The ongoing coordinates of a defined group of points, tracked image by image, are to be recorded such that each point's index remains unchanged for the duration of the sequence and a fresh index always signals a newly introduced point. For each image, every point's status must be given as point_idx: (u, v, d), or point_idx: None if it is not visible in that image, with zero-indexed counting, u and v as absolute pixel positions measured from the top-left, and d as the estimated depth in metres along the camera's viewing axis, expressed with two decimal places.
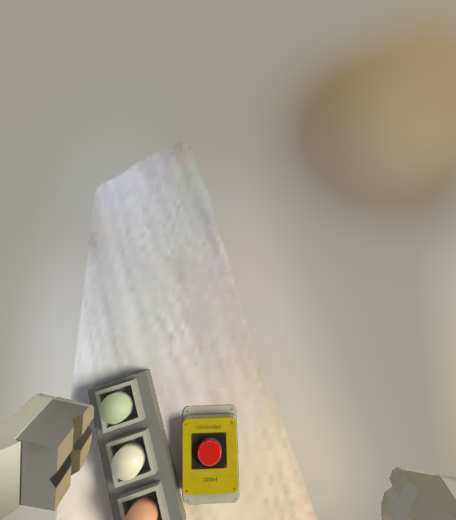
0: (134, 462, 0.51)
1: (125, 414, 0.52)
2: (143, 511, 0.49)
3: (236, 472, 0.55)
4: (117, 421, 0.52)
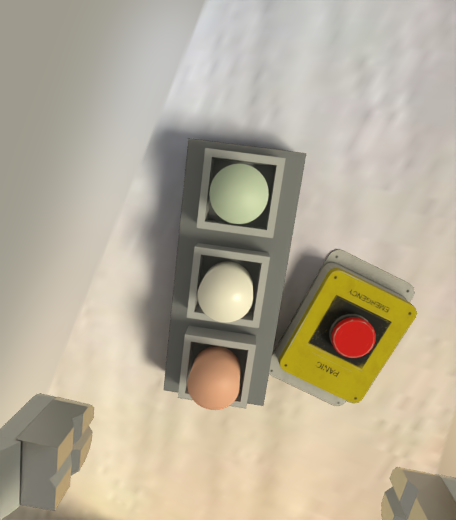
0: (239, 300, 0.27)
1: (255, 214, 0.25)
2: (225, 375, 0.28)
3: (371, 381, 0.32)
4: (236, 220, 0.26)
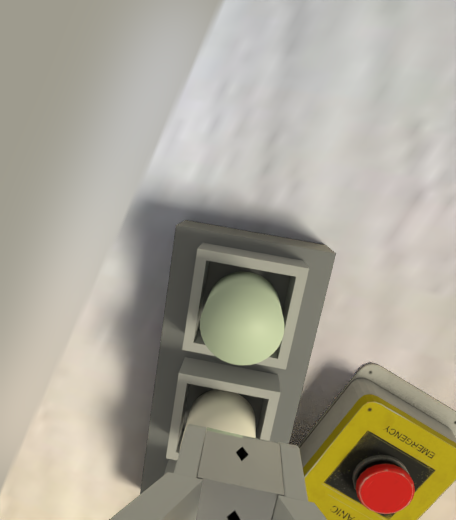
0: None
1: (264, 355, 0.18)
2: None
3: None
4: (236, 360, 0.18)
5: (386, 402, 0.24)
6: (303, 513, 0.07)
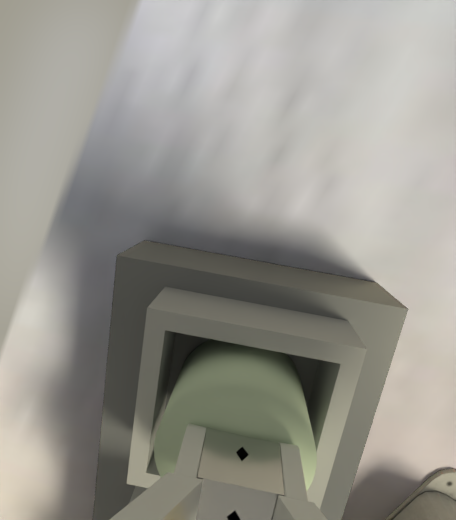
0: None
1: None
2: None
3: None
4: None
5: None
6: (303, 513, 0.07)
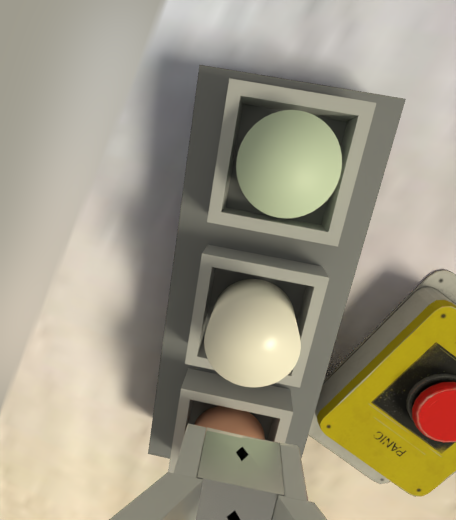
0: (276, 354, 0.15)
1: (314, 203, 0.15)
2: None
3: (450, 472, 0.22)
4: (280, 211, 0.15)
5: None
6: (303, 512, 0.07)
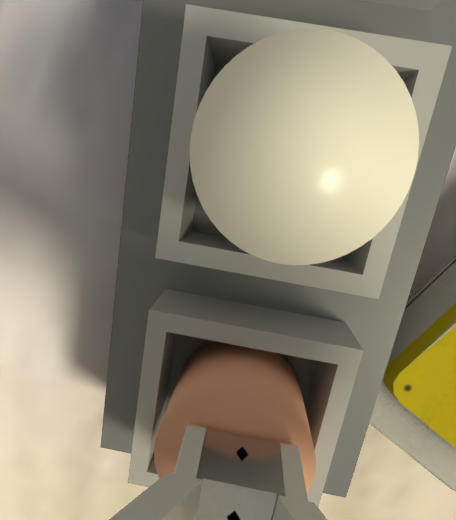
0: (359, 176, 0.07)
1: None
2: (275, 431, 0.09)
3: None
4: None
5: None
6: (303, 513, 0.07)
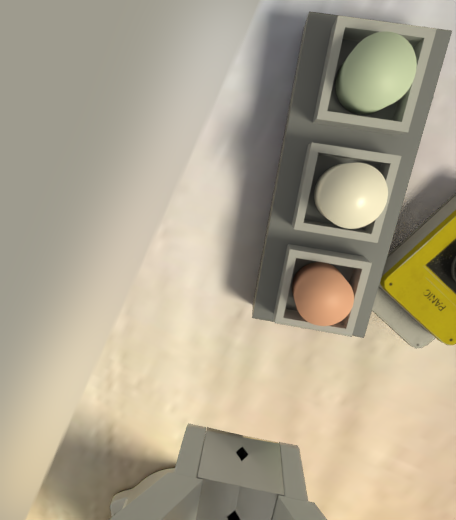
0: (370, 202, 0.23)
1: (397, 96, 0.22)
2: (340, 287, 0.26)
3: None
4: (373, 102, 0.22)
5: None
6: (303, 513, 0.07)
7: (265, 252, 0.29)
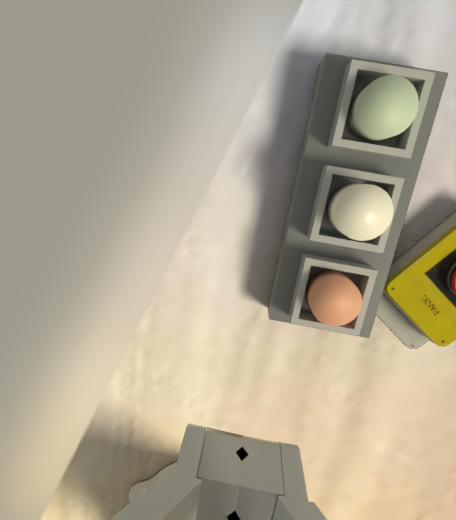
0: (378, 218, 0.27)
1: (402, 128, 0.26)
2: (350, 292, 0.29)
3: None
4: (381, 133, 0.26)
5: None
6: (303, 513, 0.07)
7: (282, 260, 0.32)
